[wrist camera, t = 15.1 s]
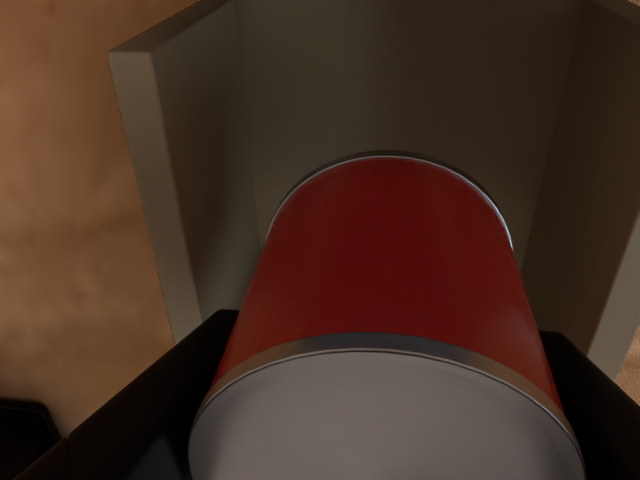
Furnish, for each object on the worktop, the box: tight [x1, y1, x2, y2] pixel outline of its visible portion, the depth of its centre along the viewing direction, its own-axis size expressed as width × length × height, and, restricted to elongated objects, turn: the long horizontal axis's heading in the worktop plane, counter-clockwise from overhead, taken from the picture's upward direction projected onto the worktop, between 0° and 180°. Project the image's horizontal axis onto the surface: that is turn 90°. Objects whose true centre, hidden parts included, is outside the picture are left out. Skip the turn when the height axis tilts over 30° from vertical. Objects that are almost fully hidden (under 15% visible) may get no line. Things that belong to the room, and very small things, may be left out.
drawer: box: [107, 0, 640, 383], centre depth 12 cm, size 21×11×7 cm, turn 1°
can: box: [187, 150, 587, 480], centre depth 9 cm, size 5×5×5 cm
